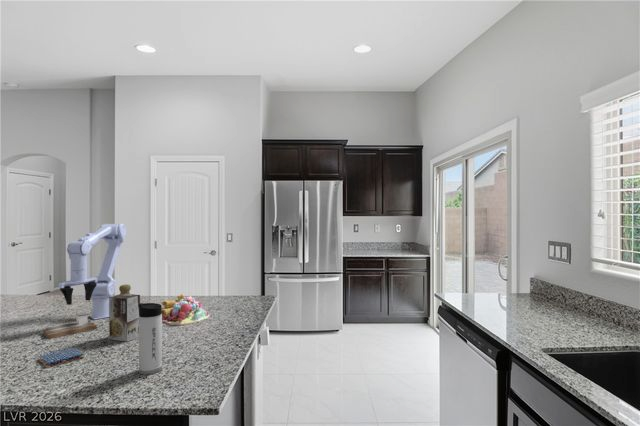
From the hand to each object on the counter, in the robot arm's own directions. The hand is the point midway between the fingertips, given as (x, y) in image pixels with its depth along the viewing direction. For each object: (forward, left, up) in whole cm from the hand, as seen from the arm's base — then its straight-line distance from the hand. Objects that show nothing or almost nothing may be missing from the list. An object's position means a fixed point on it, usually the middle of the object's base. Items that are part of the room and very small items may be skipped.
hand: (78, 302), depth 148 cm
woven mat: (+13, +35, -11) cm, 39 cm away
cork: (-25, -22, -10) cm, 35 cm away
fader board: (+4, +4, -10) cm, 12 cm away
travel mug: (-3, +65, -10) cm, 66 cm away
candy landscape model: (-37, +18, -11) cm, 42 cm away
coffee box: (-8, +29, -10) cm, 32 cm away
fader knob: (0, +4, -8) cm, 9 cm away
